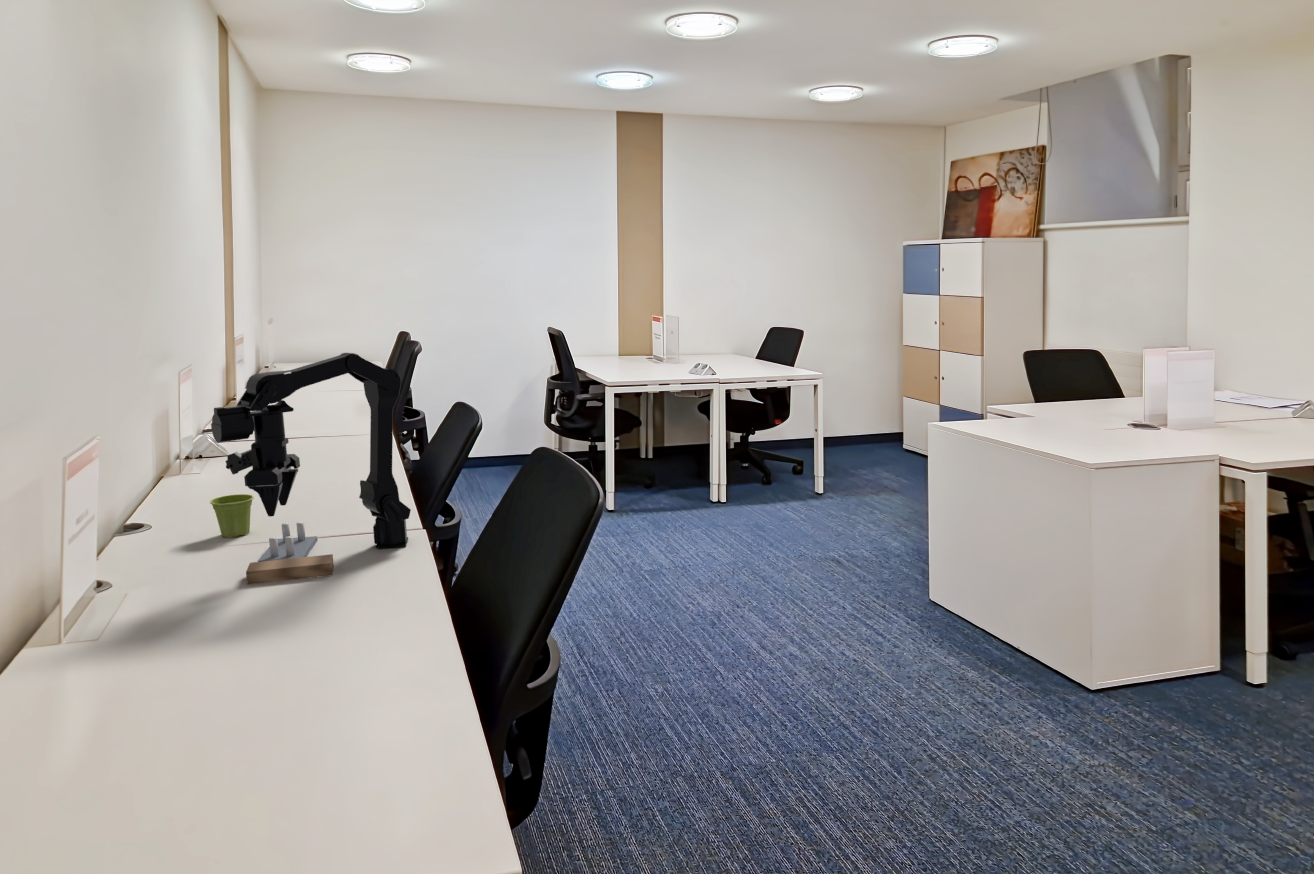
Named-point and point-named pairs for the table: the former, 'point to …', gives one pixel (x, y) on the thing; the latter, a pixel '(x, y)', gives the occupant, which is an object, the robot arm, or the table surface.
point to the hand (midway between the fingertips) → (277, 510)
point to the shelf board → (289, 569)
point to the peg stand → (289, 545)
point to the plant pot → (233, 514)
